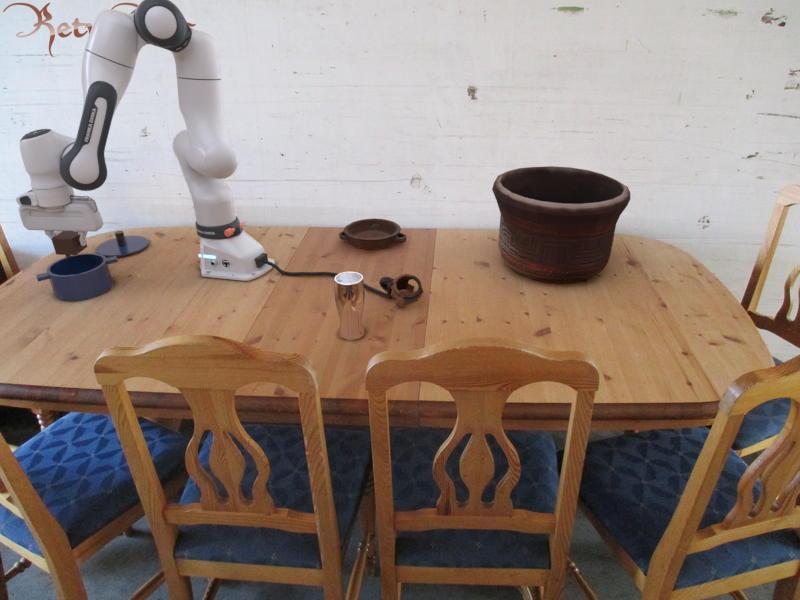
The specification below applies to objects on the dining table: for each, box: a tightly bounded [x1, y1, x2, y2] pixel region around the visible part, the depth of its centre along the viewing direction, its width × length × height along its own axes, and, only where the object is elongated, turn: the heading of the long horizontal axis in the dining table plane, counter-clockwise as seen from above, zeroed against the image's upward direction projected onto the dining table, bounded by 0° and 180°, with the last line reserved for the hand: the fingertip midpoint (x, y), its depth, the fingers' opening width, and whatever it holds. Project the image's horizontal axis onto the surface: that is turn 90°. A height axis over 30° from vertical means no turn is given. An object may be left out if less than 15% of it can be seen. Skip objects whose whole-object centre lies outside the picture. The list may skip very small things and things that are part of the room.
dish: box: [338, 217, 407, 250], centre depth 185 cm, size 18×22×5 cm
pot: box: [35, 252, 119, 302], centre depth 158 cm, size 15×20×8 cm
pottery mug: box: [378, 273, 424, 309], centre depth 151 cm, size 12×10×8 cm
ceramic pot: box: [491, 165, 631, 283], centre depth 163 cm, size 37×37×25 cm
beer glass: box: [333, 271, 366, 341], centre depth 134 cm, size 7×7×15 cm
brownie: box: [50, 231, 88, 256], centre depth 153 cm, size 6×6×4 cm
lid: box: [95, 230, 150, 258], centre depth 183 cm, size 16×16×6 cm
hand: (70, 245), depth 154 cm, fingers closed on brownie, 5 cm apart
